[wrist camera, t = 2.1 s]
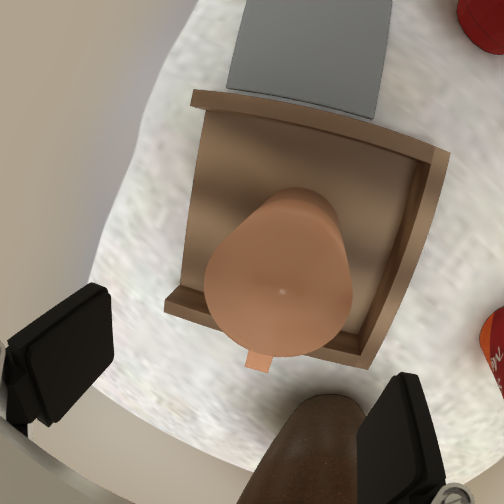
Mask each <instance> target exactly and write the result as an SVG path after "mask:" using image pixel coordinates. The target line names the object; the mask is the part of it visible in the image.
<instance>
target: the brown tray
mask: <svg viewBox="0 0 504 504" xmlns="http://www.w3.org/2000/svg"><path fill="white" fill-rule="evenodd" d="M190 106H193V107H196V108H200V109H204V110H206V113H205V118H204V123H203V128H202V134H201V139H200V145H199V150H198V156H197V162H196V168H195V174H194V180H193V187H192V193H191V200H190V207H189V214H188V221H187V228H186V236H185V244H184V252H183V261H182V270H181V279H180V285H179V286H178V287H177V288H176V289H175V290H174V291H173V292H172V293H171V294H170V295H169V296H168V297H167V298H166V299H165V304H164V312H166V313H168V314H171V315H174V316H177V317H180V318H183V319H186V320H188V321H191V322H194V323H197V324H200V325H203V326H206V327H209V328H212V329H216V330H219V331H222V330H221V329H220V327H219V326H218V325H217V324H216V322H215V320H214V319H213V317H212V315H211V313H210V311H209V309H208V306H207V303H206V299H205V294H204V276H205V271H206V267H207V265H208V262H209V260H210V258H211V256H212V254H213V252H214V251H215V250H216V248H217V247H218V246H219V245H220V244H221V243H222V242H223V241H224V240H225V239H226V238H227V237H228V236H229V235H230V234H231V233H232V232H233V231H234V230H235V229H236V228H237V227H238V226H239V225H240V224H241V223H243V222H244V221H245V220H246V219H247V218H248V217H249V216H250V215H251V214H252V213H253V212H254V211H255V210H256V209H257V208H258V207H259V206H260V205H261V204H263V203H264V202H265V201H266V200H267V199H268V198H269V197H270V196H271V195H273V194H274V193H276V192H278V191H280V190H283V189H287V188H294V187H299V188H306V189H310V190H313V191H315V192H317V193H319V194H320V195H322V196H323V197H324V198H325V199H327V200H328V202H329V203H330V204H331V205H332V207H333V208H334V210H335V212H336V214H337V217H338V220H339V224H340V229H341V233H342V238H343V242H344V247H345V251H346V256H347V261H348V266H349V271H350V276H351V281H352V288H353V300H352V306H351V310H350V313H349V316H348V318H347V320H346V322H345V324H344V326H343V327H342V329H341V330H340V331H339V333H338V334H337V335H336V336H335V337H334V338H333V339H332V340H330V341H329V342H328V343H327V344H325V345H324V346H322V347H320V348H319V349H317V350H314V351H312V352H309V353H307V354H303V355H306V356H310V357H314V358H318V359H322V360H326V361H330V362H335V363H339V364H343V365H348V366H352V367H357V368H362V369H367V370H368V369H369V367H370V365H371V364H372V362H373V360H374V358H375V356H376V354H377V352H378V350H379V348H380V346H381V344H382V342H383V340H384V338H385V336H386V334H387V332H388V330H389V328H390V326H391V324H392V322H393V320H394V317H395V315H396V313H397V311H398V309H399V306H400V304H401V302H402V300H403V297H404V295H405V293H406V290H407V288H408V285H409V283H410V281H411V278H412V276H413V273H414V271H415V268H416V265H417V263H418V260H419V257H420V255H421V252H422V249H423V246H424V244H425V241H426V238H427V235H428V232H429V229H430V226H431V223H432V220H433V217H434V213H435V210H436V207H437V203H438V200H439V196H440V193H441V189H442V186H443V182H444V178H445V174H446V170H447V166H448V162H449V157H450V152H447V151H445V150H442V149H440V148H438V147H435V146H433V145H430V144H428V143H425V142H422V141H420V140H417V139H414V138H412V137H409V136H406V135H403V134H400V133H398V132H395V131H392V130H389V129H386V128H383V127H379V126H376V125H373V124H370V123H367V122H363V121H360V120H356V119H353V118H349V117H346V116H342V115H338V114H334V113H331V112H327V111H322V110H318V109H314V108H310V107H305V106H301V105H296V104H291V103H286V102H281V101H276V100H270V99H265V98H259V97H253V96H246V95H239V94H232V93H224V92H216V91H207V90H196V89H193V94H192V99H191V104H190ZM222 332H223V331H222Z"/></svg>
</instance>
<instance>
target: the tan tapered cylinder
mask: <svg viewBox="0 0 504 504" xmlns="http://www.w3.org/2000/svg"><path fill="white" fill-rule="evenodd" d="M204 294H205V299H206V303H207V306H208V309H209V311H210V313H211V315H212V317H213V319H214V320H215V322H216V324H217V325H218V326H219V327H220V329H221V330H222V331H223V332H224V333H225V334H226V335H227V336H228V337H229V338H231V339H232V340H233V341H234V342H236V343H237V344H239V345H241V346H242V347H244V348H246V349H248V350H249V351H248V355H247V359H246V363H245V367H248V368H251V369H255V370H258V371H262V372H265V373H268V371H269V368H270V365H271V362H272V359H273V357H293V356H299V355H303V354H307V353H309V352H312V351H314V350H317V349H319V348H320V347H322V346H324V345H325V344H327V343H328V342H329V341H330V340H332V339H333V338H334V337H335V336H336V335H337V334H338V333H339V331H340V330H341V329H342V327H343V326H344V324H345V322H346V320H347V318H348V316H349V313H350V310H351V306H352V300H353V288H352V281H351V276H350V271H349V266H348V261H347V256H346V251H345V247H344V242H343V238H342V233H341V229H340V224H339V220H338V217H337V214H336V212H335V210H334V208H333V207H332V205H331V204H330V203H329V202H328V200H327V199H325V198H324V197H323V196H322V195H320V194H319V193H317V192H315V191H313V190H310V189H306V188H299V187H294V188H287V189H283V190H280V191H278V192H276V193H274V194H273V195H271V196H270V197H269V198H268V199H267V200H266V201H265V202H264V203H263V204H261V205H260V206H259V207H258V208H257V209H256V210H255V211H254V212H253V213H252V214H251V215H250V216H249V217H248V218H247V219H246V220H245V221H244V222H243V223H241V224H240V225H239V226H238V227H237V228H236V229H235V230H234V231H233V232H232V233H231V234H230V235H229V236H228V237H227V238H226V239H225V240H224V241H223V242H222V243H221V244H220V245H219V246H218V247H217V248H216V250H215V251H214V252H213V254H212V256H211V258H210V260H209V262H208V265H207V267H206V271H205V276H204Z"/></svg>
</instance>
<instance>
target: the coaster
mask: <svg viewBox="0 0 504 504" xmlns="http://www.w3.org/2000/svg"><path fill="white" fill-rule="evenodd" d="M391 7H392V0H247V2H246V5H245V9H244V13H243V17H242V21H241V25H240V29H239V33H238V37H237V41H236V45H235V49H234V53H233V58H232V62H231V66H230V71H229V75H228V80H227V84H226V88H228V89H234V90H241V91H248V92H254V93H261V94H267V95H272V96H278V97H283V98H288V99H293V100H298V101H303V102H307V103H312V104H316V105H320V106H325V107H329V108H333V109H336V110H340V111H344V112H348V113H351V114H355V115H358V116H362V117H365V118H368V119H373V118H374V113H375V109H376V104H377V99H378V93H379V88H380V83H381V77H382V71H383V65H384V59H385V53H386V46H387V39H388V32H389V24H390V16H391Z"/></svg>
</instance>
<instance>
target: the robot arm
mask: <svg viewBox="0 0 504 504" xmlns="http://www.w3.org/2000/svg"><path fill="white" fill-rule="evenodd" d="M7 341H8V345H9V346H8V347H7V348H5V346H4V344H3V343H2V342H1V341H0V504H135V503H133V502H131V501H129V500H127V499H125V498H122V497H120V496H118V495H116V494H114V493H112V492H111V491H109V490H107V489H105V488H103V487H101V486H99V485H98V484H96V483H94V482H92V481H90V480H89V479H87V478H85V477H84V476H82V475H80V474H79V473H77V472H75V471H74V470H72V469H71V468H69V467H67V466H66V465H65V464H63V463H62V462H60V461H58V460H57V459H56V458H54V457H53V456H51V455H50V454H48V453H47V452H46V451H44V450H43V449H42V448H40V447H39V446H37V445H36V444H35V443H34V442H33V421H34V420H35V419H36V418H37V419H38V420H39V421H40V422H42V423H43V424H44V425H46V426H47V427H50V426H51V424H52V423H53V422H54V423H57V422H58V421H60V420H61V418H62V417H63V416H64V415H65V414H66V413H67V412H68V411H69V409H70V408H71V407H72V406H73V405H74V404H75V403H76V402H77V400H78V399H79V398H80V397H81V396H82V395H83V394H84V393H85V392H86V390H87V389H88V388H89V387H90V386H91V385H92V384H93V383H94V382H95V380H96V379H97V378H98V377H99V376H100V375H101V374H102V373H103V372H104V371H105V369H106V368H107V367H108V366H109V365H110V364H111V363H112V361H113V358H114V345H113V331H112V311H111V295H110V294H109V293H108V290H107V288H105V287H103V286H100V285H98V284H96V283H92V282H91V283H89V284H87V285H86V286H84V287H83V288H81V289H80V290H78V291H77V292H75V293H74V294H72V295H71V296H69V297H68V298H66V299H65V300H64V301H62V302H60V303H59V304H57V305H56V306H55V307H53V308H52V309H50V310H49V311H47V312H46V313H45V314H43V315H42V316H40V317H39V318H38V319H36V320H35V321H33V322H32V323H30V324H29V325H28V326H26V327H25V328H24V329H22V330H21V331H19V332H18V333H17V334H15V335H14V336H12V337H11V338H10V339H9V340H7ZM356 444H357V504H475V500H474V497H473V494H472V493H471V491H470V490H469V489H468V488H467V487H466V486H464V485H462V484H460V483H449V484H447V485H446V482H445V479H446V475H445V470H444V466H443V461H442V457H441V453H440V449H439V445H438V441H437V437H436V433H435V430H434V426H433V422H432V419H431V415H430V412H429V409H428V405H427V402H426V399H425V396H424V392H423V389H422V386H421V383H420V380H419V377H418V375H416V374H411V373H405V372H400V373H399V374H398V375H397V376H393V377H392V378H391V379H390V381H389V383H388V384H387V386H386V388H385V389H384V391H383V393H382V394H381V396H380V397H379V399H378V400H377V402H376V403H375V405H374V406H373V408H372V410H371V411H370V412H369V414H368V415H367V417H366V418H365V420H364V421H363V423H362V424H361V426H360V427H359V429H358V431H357V435H356Z"/></svg>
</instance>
